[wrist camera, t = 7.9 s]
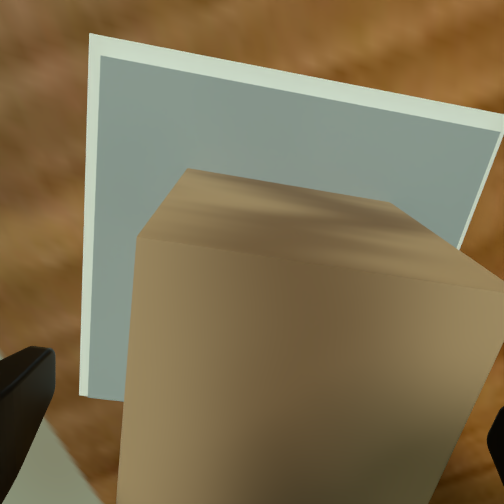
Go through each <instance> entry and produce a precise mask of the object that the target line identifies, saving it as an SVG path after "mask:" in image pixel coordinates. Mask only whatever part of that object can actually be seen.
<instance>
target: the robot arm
mask: <svg viewBox="0 0 504 504" xmlns="http://www.w3.org/2000/svg"><path fill="white" fill-rule="evenodd" d="M54 390H55V352H54V350H53V349H51V348H45V347H38V346H30V347H27V348H25V349H23V350H21V351H19V352H17V353H15V354H12V355H10V356H8V357H6V358H4V359H2V360H0V504H2V502H3V500H4V499H5V497H6V495H7V494H8V492H9V490H10V488H11V486H12V485H13V483H14V481H15V479H16V477H17V475H18V473H19V471H20V469H21V466H22V465H23V462H24V460H25V458H26V455H27V453H28V451H29V449H30V446H31V444H32V442H33V440H34V438H35V435H36V433H37V431H38V428H39V426H40V424H41V422H42V419H43V417H44V415H45V413H46V410H47V408H48V406H49V404H50V401H51V399H52V397H53V394H54ZM487 446H488V449H489V451H490V454H491V456H492V459H493V461H494V464H495V466H496V469H497V471H498V474H499V476H500V478H501V481H502V483H503V486H504V406H503V407H502V408H501V409H500V410H499V412H498V414H497V416H496V418H495V420H494V422H493V424H492V426H491V428H490V430H489V432H488V435H487Z"/></svg>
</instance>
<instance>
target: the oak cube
mask: <svg viewBox="0 0 504 504" xmlns="http://www.w3.org/2000/svg"><path fill="white" fill-rule="evenodd" d="M503 342H504V281H503V280H501V279H500V278H498V277H497V276H495V275H494V274H493V273H491V272H490V271H488V270H487V269H485V268H484V267H483V266H481V265H480V264H478V263H477V262H475V261H474V260H472V259H471V258H470V257H468V256H467V255H465V254H464V253H462V252H461V251H459V250H458V249H457V248H455V247H454V246H452V245H451V244H449V243H448V242H447V241H445V240H444V239H442V238H441V237H439V236H438V235H436V234H435V233H434V232H432V231H431V230H429V229H428V228H426V227H425V226H423V225H422V224H421V223H419V222H418V221H416V220H415V219H413V218H412V217H410V216H409V215H408V214H406V213H405V212H403V211H402V210H400V209H399V208H398V207H396V206H395V205H393V204H392V203H390V202H385V201H379V200H373V199H368V198H362V197H356V196H350V195H344V194H338V193H332V192H326V191H320V190H314V189H309V188H303V187H297V186H291V185H285V184H279V183H273V182H267V181H261V180H255V179H250V178H244V177H238V176H232V175H226V174H220V173H214V172H208V171H202V170H196V169H191V168H187V169H186V171H185V172H184V173H183V175H182V176H181V177H180V179H179V180H178V181H177V183H176V184H175V186H174V187H173V188H172V190H171V191H170V192H169V194H168V195H167V196H166V198H165V199H164V200H163V202H162V203H161V204H160V206H159V207H158V208H157V210H156V211H155V213H154V214H153V215H152V217H151V218H150V219H149V221H148V222H147V223H146V225H145V226H144V227H143V229H142V230H141V231H140V233H139V234H138V236H137V238H136V251H135V264H134V277H133V290H132V303H131V316H130V329H129V342H128V355H127V368H126V381H125V394H124V407H123V420H122V433H121V446H120V459H119V472H118V485H117V498H116V504H428V503H429V501H430V499H431V497H432V495H433V492H434V490H435V488H436V486H437V484H438V482H439V480H440V477H441V475H442V473H443V471H444V469H445V467H446V465H447V462H448V460H449V458H450V456H451V454H452V452H453V449H454V447H455V445H456V443H457V441H458V439H459V437H460V434H461V432H462V430H463V428H464V426H465V424H466V422H467V419H468V417H469V415H470V413H471V411H472V409H473V406H474V404H475V402H476V400H477V398H478V396H479V394H480V391H481V389H482V387H483V385H484V383H485V381H486V379H487V376H488V374H489V372H490V370H491V368H492V366H493V363H494V361H495V359H496V357H497V355H498V353H499V351H500V348H501V346H502V344H503Z"/></svg>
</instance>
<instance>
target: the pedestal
mask: <svg viewBox="0 0 504 504" xmlns="http://www.w3.org/2000/svg"><path fill="white" fill-rule="evenodd" d="M503 135H504V114H499V113H494V112H489V111H484V110H479V109H474V108H469V107H463V106H458V105H453V104H448V103H443V102H438V101H433V100H428V99H423V98H417V97H412V96H407V95H402V94H397V93H392V92H387V91H382V90H377V89H372V88H366V87H361V86H356V85H351V84H346V83H341V82H336V81H331V80H326V79H321V78H315V77H310V76H305V75H300V74H295V73H290V72H285V71H280V70H275V69H270V68H264V67H259V66H254V65H249V64H244V63H239V62H234V61H229V60H224V59H218V58H213V57H208V56H203V55H198V54H193V53H188V52H183V51H178V50H173V49H167V48H162V47H157V46H152V45H147V44H142V43H137V42H132V41H127V40H122V39H116V38H111V37H106V36H101V35H96V34H91V33H89V65H88V101H87V136H86V172H85V207H84V242H83V278H82V313H81V349H80V384H79V395H82V396H88V397H89V398H98V399H106V400H115V401H123V402H124V394H125V381H126V368H127V355H128V342H129V329H130V316H131V303H132V290H133V277H134V264H135V251H136V238H137V236H138V234H139V233H140V231H141V230H142V229H143V227H144V226H145V225H146V223H147V222H148V221H149V219H150V218H151V217H152V215H153V214H154V213H155V211H156V210H157V208H158V207H159V206H160V204H161V203H162V202H163V200H164V199H165V198H166V196H167V195H168V194H169V192H170V191H171V190H172V188H173V187H174V186H175V184H176V183H177V181H178V180H179V179H180V177H181V176H182V175H183V173H184V172H185V171H186V169H187V168H191V169H196V170H202V171H208V172H214V173H220V174H226V175H232V176H238V177H244V178H250V179H255V180H261V181H267V182H273V183H279V184H285V185H291V186H297V187H303V188H309V189H314V190H320V191H326V192H332V193H338V194H344V195H350V196H356V197H362V198H368V199H373V200H379V201H385V202H390V203H392V204H393V205H395V206H396V207H398V208H399V209H400V210H402V211H403V212H405V213H406V214H408V215H409V216H410V217H412V218H413V219H415V220H416V221H418V222H419V223H421V224H422V225H423V226H425V227H426V228H428V229H429V230H431V231H432V232H434V233H435V234H436V235H438V236H439V237H441V238H442V239H444V240H445V241H447V242H448V243H449V244H451V245H452V246H454V247H455V248H457V249H458V250H459V249H460V247H461V244H462V242H463V239H464V236H465V234H466V231H467V229H468V226H469V223H470V221H471V218H472V216H473V213H474V210H475V208H476V205H477V203H478V200H479V197H480V195H481V192H482V190H483V187H484V184H485V182H486V179H487V176H488V174H489V171H490V169H491V166H492V163H493V161H494V158H495V156H496V153H497V150H498V148H499V145H500V143H501V140H502V137H503Z"/></svg>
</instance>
